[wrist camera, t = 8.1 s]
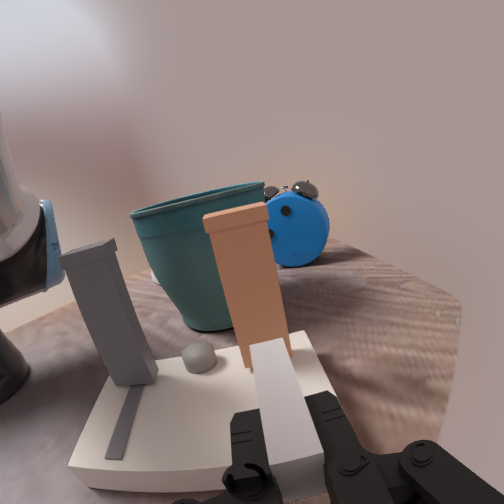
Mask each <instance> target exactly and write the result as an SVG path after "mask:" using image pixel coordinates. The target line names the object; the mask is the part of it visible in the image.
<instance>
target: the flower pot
mask: <svg viewBox="0 0 504 504" xmlns="http://www.w3.org/2000/svg"><path fill="white" fill-rule="evenodd" d="M264 185H265V184H264V181H257V182H250V183H244V184H238V185H233V186H228V187H223V188H218V189H214V190H209V191H205V192H201V193H196V194H192V195H188V196H184V197H180V198H176V199H173V200H169V201H166V202H162V203H158V204H155V205H151V206H148V207H145V208H142V209H139V210H136V211H134V212H131V213H130V214H129V215H130V217H131V218H132V219H133V222H134V225H135V228H136V231H137V234H138V236H139V238H140V241H141V243H142V246H143V249H144V252H145V255H146V257H147V260H148V262H149V265H150V267H151V269H152V271H153V273H154V275H155V277H156V279H157V280H158V282H159V284H160V285H161V287H162V288H163V289H164V291H165V292H166V293H167V295H168V296H169V297H170V299H171V300H172V301H173V303H174V304H175V306H176V307H177V308H178V310H179V311H180V313H181V314H182V317H183V320H184V322H185V324H186V325H187V326H189V327H190V328H193V329H196V330H201V331H215V330H222V329H227V328H231V327H233V323H232V320H231V316H230V312H229V309H228V305H227V301H226V298H225V294H224V290H223V286H222V282H221V279H220V275H219V271H218V267H217V263H216V259H215V255H214V251H213V247H212V243H211V239H210V235H209V233H206V232H205V228H204V224H203V220H202V219H203V217H204V215H205V214H210V213H214V212H218V211H222V210H227V209H231V208H236V207H240V206H245V205H249V204H254V203H258V202H264V203H265V195H264ZM265 204H266V203H265ZM267 225H268V224H267Z"/></svg>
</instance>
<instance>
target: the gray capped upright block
mask: <svg viewBox="0 0 504 504" xmlns="http://www.w3.org/2000/svg"><path fill="white" fill-rule="evenodd" d="M116 250H117V246H116V243H115V240H114V238H112V239H108V240H105V241H101V242H98V243H94V244H90V245H87V246H84V247H80V248H77V249H73V250H71V251H69V252H67V253H65V254H63V255H62V256H60V257H58V260H59V263H60V266H61V269H62V270H63V269H65V271H66V274H67V277H68V280H69V282H70V285H71V288H72V290H73V294H74V296H75V299H76V301H77V304H78V307H79V309H80V312H81V314H82V316H83V319H84V321H85V324H86V326H87V328H88V330H89V333H90V335H91V337H92V339H93V342H94V344H95V346H96V348H97V350H98V352H99V354H100V356H101V358H102V360H103V362H104V364H105V366H106V368H107V370H108V372H109V374H110V376H111V378H112V380H113V382H114V384H115V385H116V387H117V386H128V385H138V384H147V383H155V381H156V377H157V374H158V371H159V369H158V367H157V364H156V362H155V360H154V357H153V355H152V353H151V350H150V348H149V346H148V343H147V341H146V338H145V336H144V333H143V331H142V328H141V326H140V323H139V321H138V318H137V315H136V313H135V310H134V307H133V305H132V302H131V299H130V296H129V294H128V291H127V288H126V285H125V282H124V279H123V276H122V273H121V270H120V267H119V264H118V260H117V258H116V254H115V251H116Z"/></svg>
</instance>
